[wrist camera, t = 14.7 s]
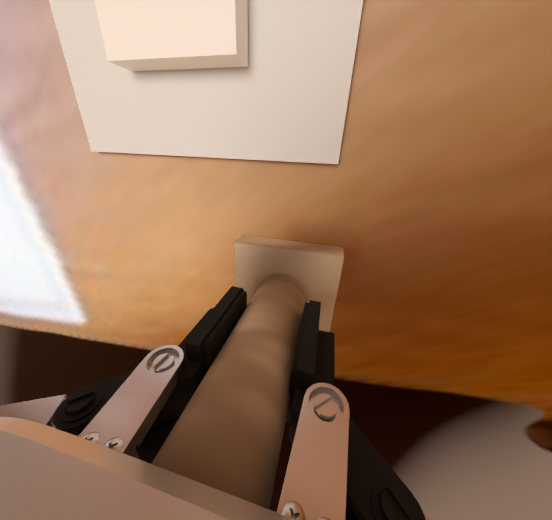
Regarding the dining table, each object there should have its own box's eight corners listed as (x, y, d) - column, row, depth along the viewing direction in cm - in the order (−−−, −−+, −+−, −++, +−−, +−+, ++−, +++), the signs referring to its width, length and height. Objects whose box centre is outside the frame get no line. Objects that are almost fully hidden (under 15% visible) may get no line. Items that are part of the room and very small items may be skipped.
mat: (418, -363, 9) (426, -408, 8) (338, 164, 17) (338, 164, 17) (4, -199, 14) (-14, -218, 13) (99, 151, 22) (91, 151, 22)
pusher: (343, 247, 12) (373, 510, 3) (327, 328, 15) (317, 610, 5) (243, 234, 13) (40, 393, 4) (245, 312, 16) (120, 520, 7)
